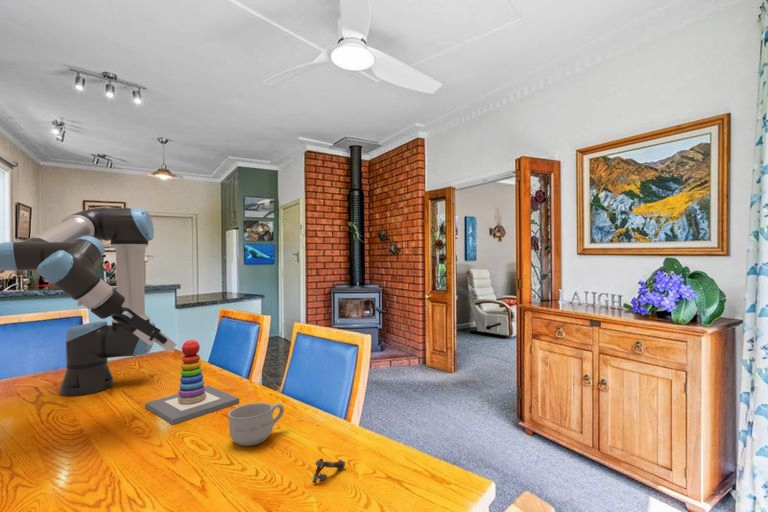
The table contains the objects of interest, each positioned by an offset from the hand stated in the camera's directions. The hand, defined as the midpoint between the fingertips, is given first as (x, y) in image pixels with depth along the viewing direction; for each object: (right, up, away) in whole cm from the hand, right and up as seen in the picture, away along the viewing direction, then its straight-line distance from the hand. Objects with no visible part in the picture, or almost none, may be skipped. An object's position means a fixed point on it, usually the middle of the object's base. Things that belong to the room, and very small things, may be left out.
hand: (163, 345), depth 114 cm
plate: (+6, -20, +7) cm, 22 cm away
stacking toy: (+5, -19, +7) cm, 21 cm away
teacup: (+33, -20, -16) cm, 42 cm away
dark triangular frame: (+54, -20, -33) cm, 67 cm away
